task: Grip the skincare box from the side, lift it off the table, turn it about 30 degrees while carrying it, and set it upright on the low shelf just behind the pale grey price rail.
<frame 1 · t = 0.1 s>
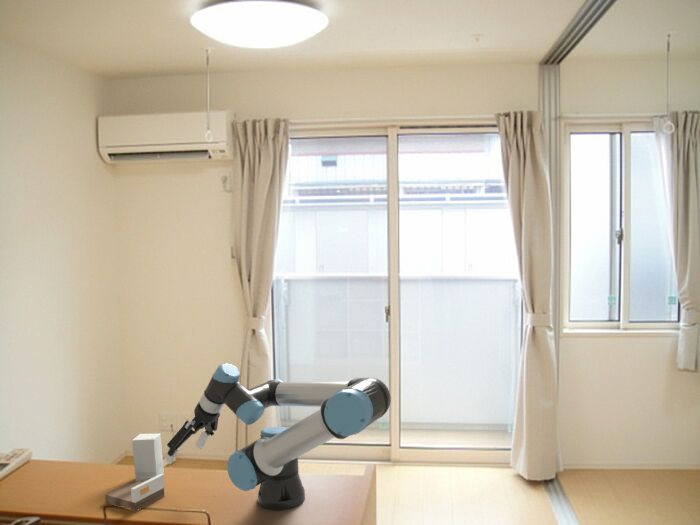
hand: (183, 453, 191), 15 cm above the table, tool tilted 35°, fingers open, 13 cm apart
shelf: (135, 499, 193), on the table
skincare box: (149, 479, 209), on the table
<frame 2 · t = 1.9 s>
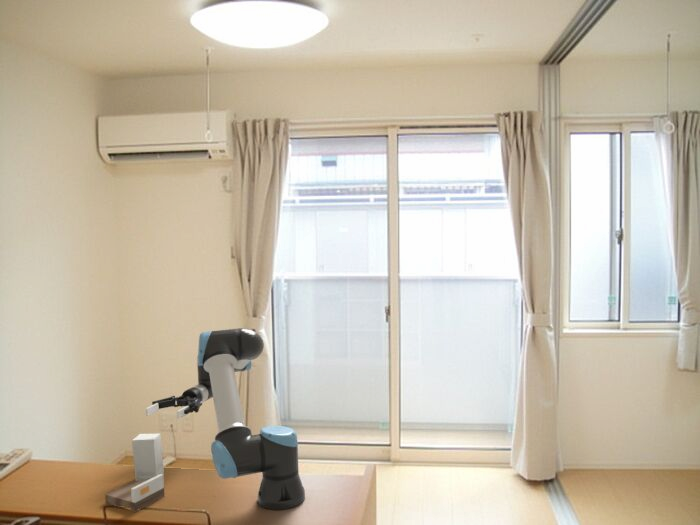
hand: (162, 413, 217), 21 cm above the table, tool horizontal, fingers open, 13 cm apart
nothing on the table moved.
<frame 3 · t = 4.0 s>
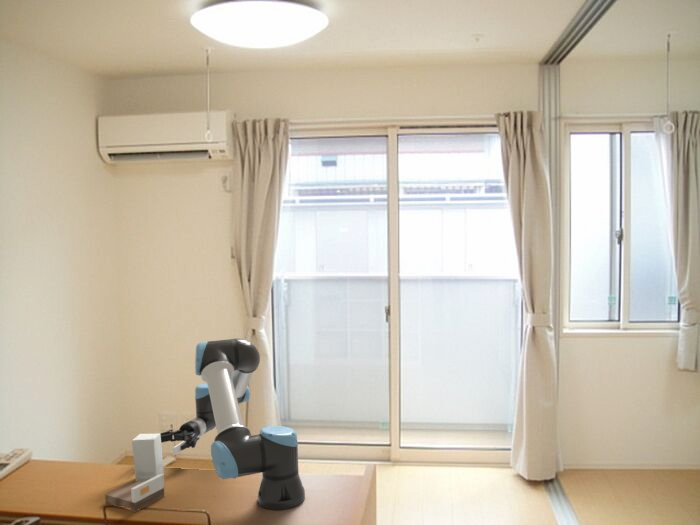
hand: (158, 449, 215), 8 cm above the table, tool horizontal, fingers open, 13 cm apart
nothing on the table moved.
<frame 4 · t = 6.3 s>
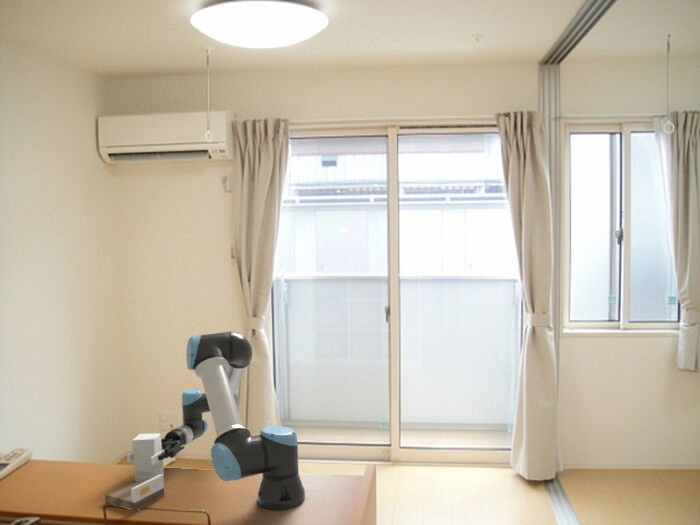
hand: (139, 460, 205), 9 cm above the table, tool horizontal, fingers closed on skincare box, 9 cm apart
skincare box: (149, 479, 209), on the table, touching gripper
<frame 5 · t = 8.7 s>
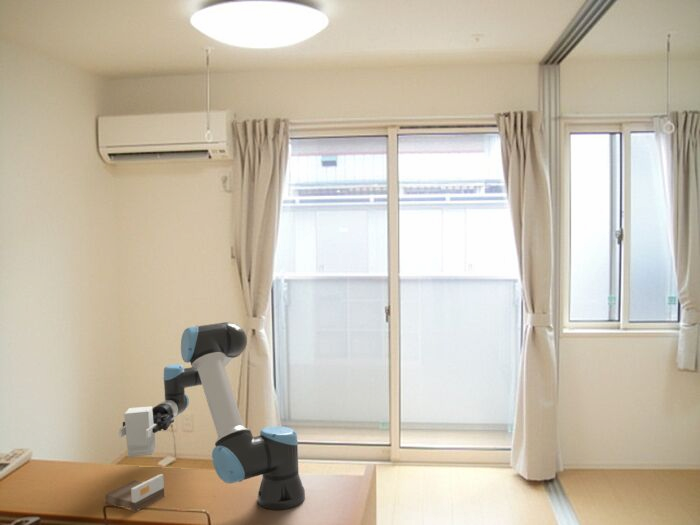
hand: (133, 433, 198), 20 cm above the table, tool horizontal, fingers closed on skincare box, 9 cm apart
skincare box: (141, 453, 203), point 11 cm above the table, touching gripper
when the fingers open (13 cm above the table, at t = 11.2 s): skincare box drops 1 cm, resting on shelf.
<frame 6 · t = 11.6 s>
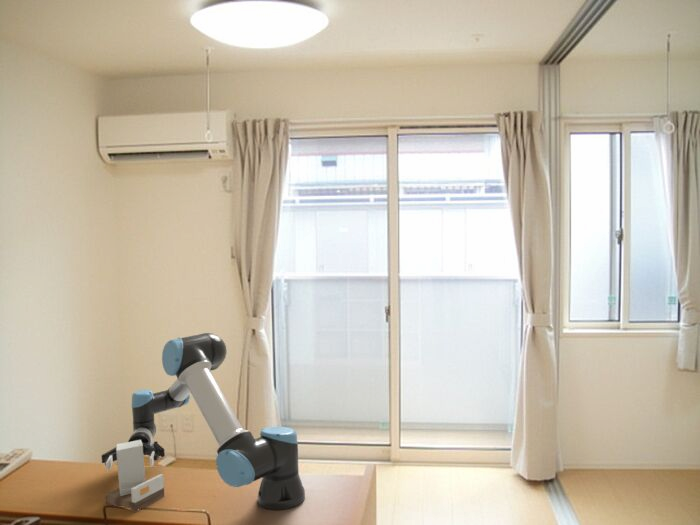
hand: (129, 464, 189), 13 cm above the table, tool horizontal, fingers open, 13 cm apart
skincare box: (132, 491, 193), point 3 cm above the table, touching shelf
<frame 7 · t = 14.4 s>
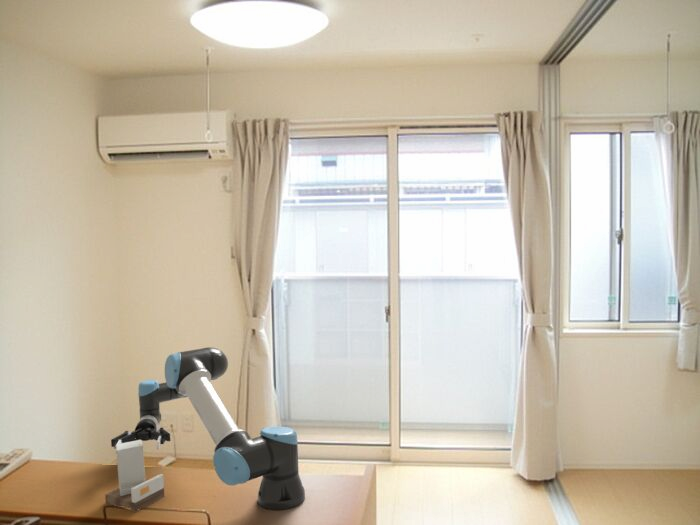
hand: (137, 447, 203), 14 cm above the table, tool horizontal, fingers open, 13 cm apart
nothing on the table moved.
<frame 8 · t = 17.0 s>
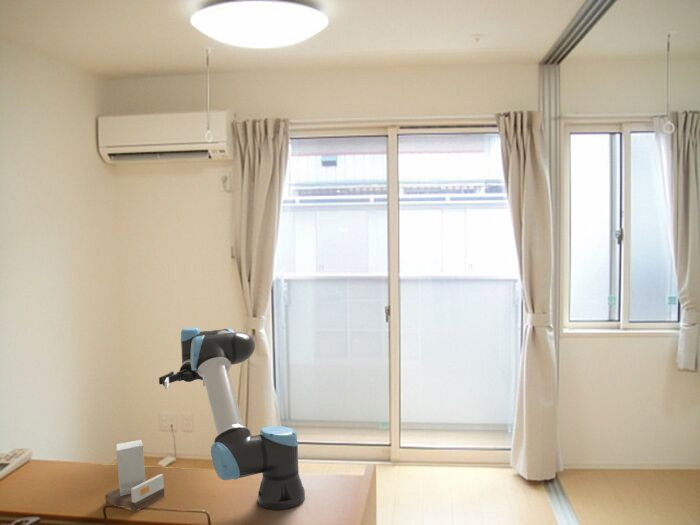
hand: (185, 383, 215), 32 cm above the table, tool horizontal, fingers open, 13 cm apart
nothing on the table moved.
at the end: skincare box inside the target area (0.1 cm from its centre), point 2.8 cm above the table; skincare box tilted 0°; the gripper is holding nothing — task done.
